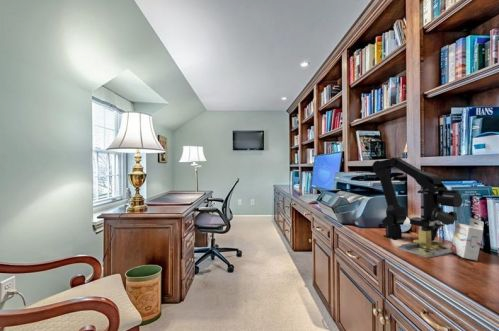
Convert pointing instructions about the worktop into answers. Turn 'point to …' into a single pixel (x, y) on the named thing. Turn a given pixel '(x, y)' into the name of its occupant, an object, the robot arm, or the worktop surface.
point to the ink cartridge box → (467, 239)
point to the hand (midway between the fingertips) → (432, 240)
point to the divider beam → (412, 245)
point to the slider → (424, 238)
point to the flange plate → (429, 251)
